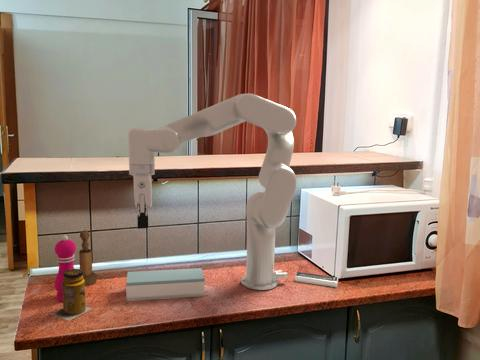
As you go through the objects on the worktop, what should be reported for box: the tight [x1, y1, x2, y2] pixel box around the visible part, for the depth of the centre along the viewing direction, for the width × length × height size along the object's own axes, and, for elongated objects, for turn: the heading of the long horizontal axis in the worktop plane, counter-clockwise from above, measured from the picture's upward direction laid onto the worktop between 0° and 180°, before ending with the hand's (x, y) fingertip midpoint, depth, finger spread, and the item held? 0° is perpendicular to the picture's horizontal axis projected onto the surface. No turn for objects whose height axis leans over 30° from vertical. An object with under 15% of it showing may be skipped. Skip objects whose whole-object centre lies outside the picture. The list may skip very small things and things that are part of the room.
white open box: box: [125, 280, 206, 302], centre depth 136 cm, size 24×9×5 cm, turn 102°
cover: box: [125, 267, 206, 286], centre depth 135 cm, size 24×9×1 cm, turn 102°
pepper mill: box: [53, 234, 77, 303], centre depth 129 cm, size 7×7×20 cm
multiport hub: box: [294, 271, 339, 288], centre depth 148 cm, size 4×14×2 cm, turn 72°
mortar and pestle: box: [78, 229, 97, 287], centre depth 141 cm, size 7×6×18 cm
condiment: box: [51, 268, 93, 322], centre depth 121 cm, size 7×8×12 cm
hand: (143, 227), depth 131 cm, fingers closed
